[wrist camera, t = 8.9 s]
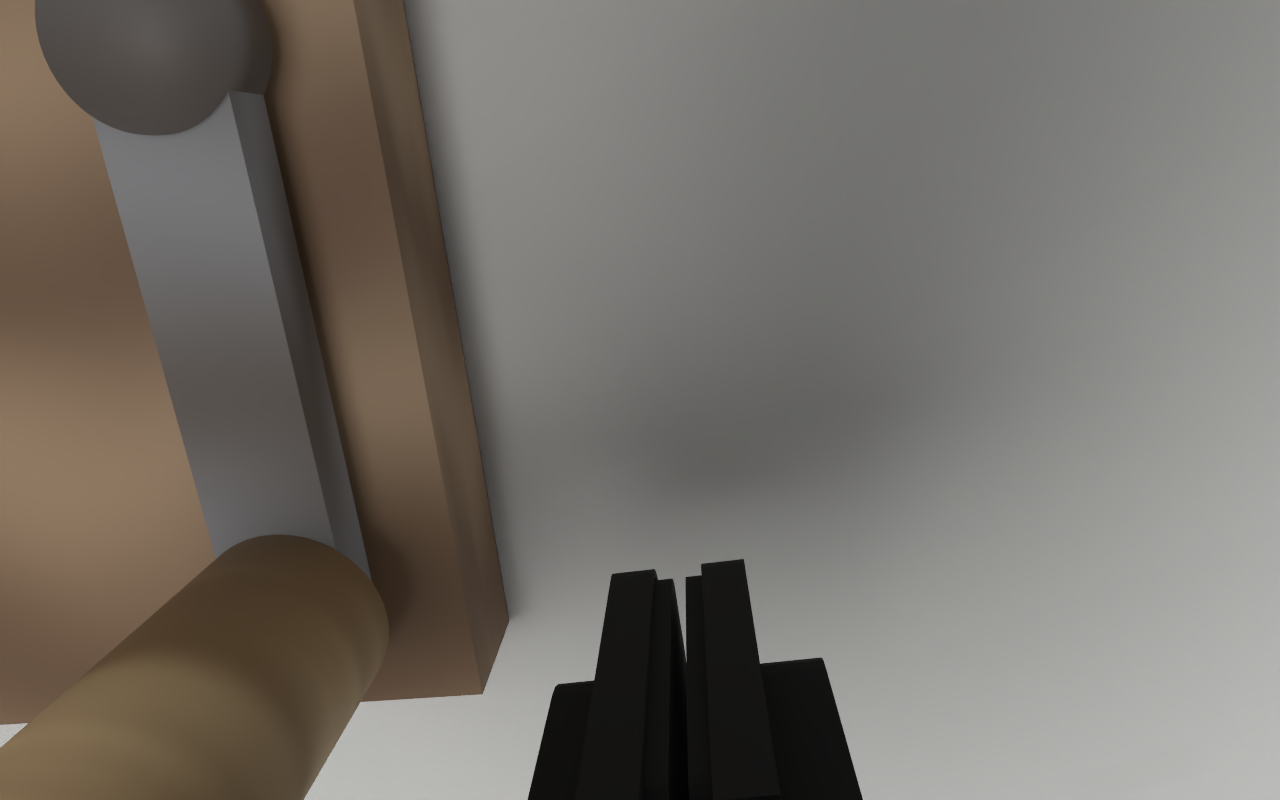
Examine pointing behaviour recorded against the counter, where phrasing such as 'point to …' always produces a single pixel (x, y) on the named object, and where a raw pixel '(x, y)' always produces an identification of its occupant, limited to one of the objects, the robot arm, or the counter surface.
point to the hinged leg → (214, 434)
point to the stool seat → (138, 393)
